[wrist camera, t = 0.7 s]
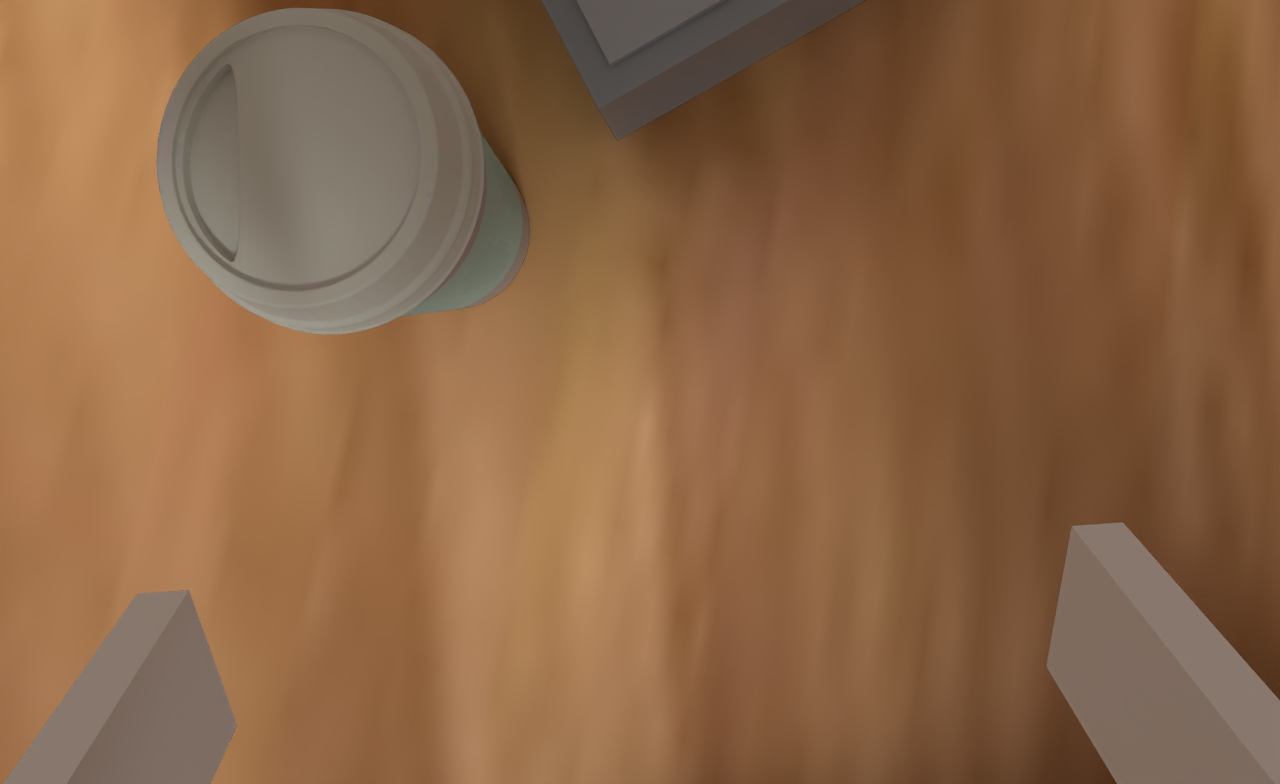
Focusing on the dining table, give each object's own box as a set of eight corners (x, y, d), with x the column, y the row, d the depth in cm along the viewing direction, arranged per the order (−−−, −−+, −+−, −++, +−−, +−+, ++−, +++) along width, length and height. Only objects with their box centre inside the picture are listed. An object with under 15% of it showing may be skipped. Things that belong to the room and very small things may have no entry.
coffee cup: (418, 77, 35) (238, -79, 23) (609, 191, 34) (525, 91, 22) (308, 271, 35) (77, 219, 23) (491, 388, 34) (348, 396, 23)
